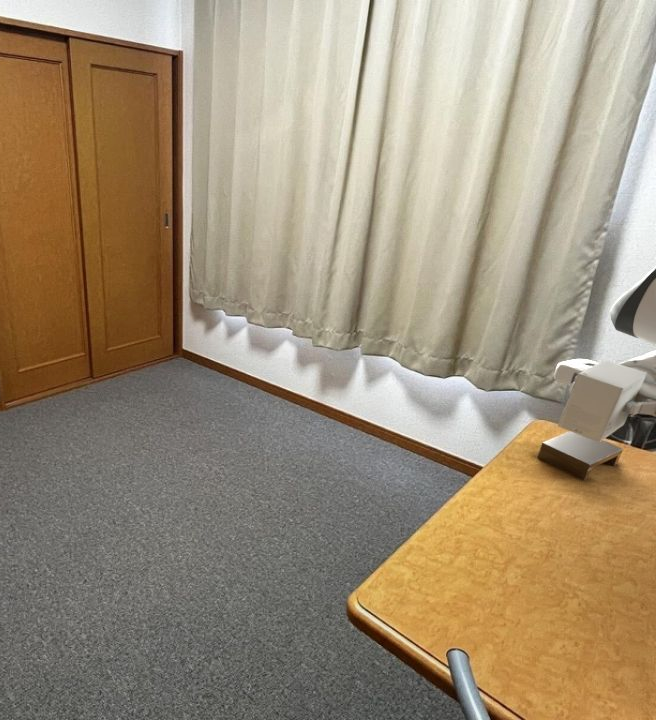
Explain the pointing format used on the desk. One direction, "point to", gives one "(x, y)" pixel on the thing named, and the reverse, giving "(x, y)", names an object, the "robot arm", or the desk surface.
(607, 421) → the cosmetics box
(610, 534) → the desk surface
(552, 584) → the desk surface
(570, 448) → the dark bridge stand
